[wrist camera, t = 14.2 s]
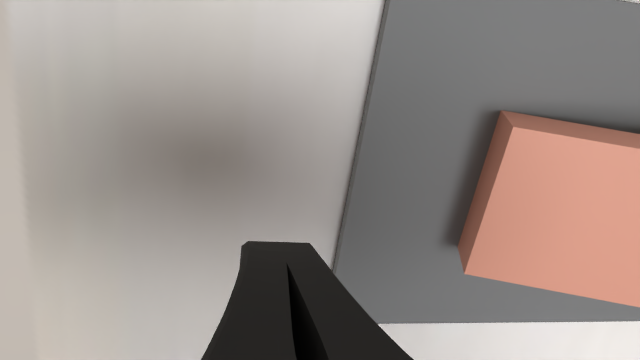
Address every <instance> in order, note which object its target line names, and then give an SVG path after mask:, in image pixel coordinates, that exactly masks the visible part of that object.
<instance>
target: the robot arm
mask: <svg viewBox="0 0 640 360" xmlns="http://www.w3.org/2000/svg"><path fill="white" fill-rule="evenodd" d="M201 360H413V359H412V358H411V357H410V356H409V355H408V354H407V353H406V352H405V351H403V350H402V349H401V348H400V347H399V346H398V345H397V344H396V343H395V342H394V341H393V340H392V339H391V338H390V337H389V336H388V335H387V334H386V333H385V332H384V331H383V330H382V329H381V328H380V327H379V325H378V324H377V323H376V322H375V321H374V320H373V319H372V318H371V317H370V316H369V315H368V313H367V312H366V311H365V310H364V309H363V308H362V307H361V305H360V304H359V303H358V302H357V301H356V300H355V299H354V297H353V296H352V295H351V294H350V293H349V292H348V290H347V289H346V288H345V287H344V286H343V284H342V283H341V282H340V281H339V279H338V278H337V277H336V276H335V274H334V273H333V272H332V271H331V269H330V268H329V267H328V266H327V264H326V263H325V262H324V260H323V259H322V258H321V257H320V255H319V254H318V253H317V252H316V250H315V249H314V248H313V247H312V245H311V244H310V243H292V242H257V241H248V242H246V243H245V244H244V245H242V248H241V259H240V269H239V273H238V276H237V280H236V283H235V286H234V289H233V291H232V294H231V297H230V299H229V302H228V305H227V307H226V310H225V312H224V314H223V317H222V319H221V321H220V323H219V325H218V327H217V329H216V331H215V333H214V335H213V338H212V340H211V342H210V344H209V346H208V348H207V350H206V352H205V353H204V355H203V357H202V359H201Z"/></svg>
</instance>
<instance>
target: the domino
mask: <svg viewBox="0 0 640 360" xmlns="http://www.w3.org/2000/svg"><path fill="white" fill-rule="evenodd" d="M458 251H459V255H460V259H461V263H462V267H463V271H464V274H467V275H472V276H478V277H483V278H488V279H493V280H499V281H504V282H509V283H514V284H520V285H525V286H530V287H535V288H541V289H546V290H551V291H556V292H562V293H567V294H572V295H577V296H583V297H588V298H593V299H598V300H604V301H609V302H614V303H619V304H625V305H630V306H635V307H640V134H636V133H630V132H624V131H618V130H613V129H607V128H601V127H595V126H590V125H584V124H578V123H572V122H566V121H561V120H555V119H549V118H543V117H538V116H532V115H526V114H520V113H514V112H509V111H503V110H501V111H500V115H499V118H498V121H497V124H496V127H495V130H494V133H493V137H492V140H491V143H490V146H489V149H488V152H487V156H486V159H485V162H484V165H483V168H482V171H481V174H480V178H479V181H478V184H477V187H476V190H475V193H474V197H473V200H472V203H471V206H470V209H469V212H468V215H467V219H466V222H465V225H464V228H463V231H462V234H461V238H460V241H459V244H458Z"/></svg>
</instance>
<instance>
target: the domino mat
mask: <svg viewBox="0 0 640 360" xmlns="http://www.w3.org/2000/svg"><path fill="white" fill-rule="evenodd" d="M501 110H503V111H509V112H514V113H520V114H526V115H532V116H538V117H543V118H549V119H555V120H561V121H566V122H572V123H578V124H584V125H590V126H595V127H601V128H607V129H613V130H618V131H624V132H630V133H636V134H640V4H638V3H632V2H626V1H619V0H386V2H385V7H384V12H383V17H382V22H381V27H380V32H379V37H378V43H377V48H376V53H375V58H374V63H373V68H372V73H371V78H370V83H369V88H368V93H367V99H366V104H365V109H364V114H363V119H362V124H361V129H360V134H359V139H358V144H357V150H356V155H355V160H354V165H353V170H352V175H351V180H350V185H349V190H348V195H347V201H346V206H345V211H344V216H343V221H342V226H341V231H340V236H339V241H338V246H337V252H336V257H335V262H334V267H333V273H334V274H335V276H336V277H337V278H338V279H339V281H340V282H341V283H342V284H343V286H344V287H345V288H346V289H347V290H348V292H349V293H350V294H351V295H352V296H353V297H354V299H355V300H356V301H357V302H358V303H359V304H360V305H361V307H362V308H363V309H364V310H365V311H366V312H367V313H368V315H369V316H370V317H371V318H372V319H373V320H374V321H375V322H376V323H377V324H389V323H496V322H604V321H640V307H635V306H630V305H625V304H619V303H614V302H609V301H604V300H598V299H593V298H588V297H583V296H577V295H572V294H567V293H562V292H556V291H551V290H546V289H541V288H535V287H530V286H525V285H520V284H514V283H509V282H504V281H499V280H493V279H488V278H483V277H478V276H472V275H467V274H464V271H463V267H462V263H461V259H460V255H459V251H458V244H459V241H460V238H461V234H462V231H463V228H464V225H465V222H466V219H467V215H468V212H469V209H470V206H471V203H472V200H473V197H474V193H475V190H476V187H477V184H478V181H479V178H480V174H481V171H482V168H483V165H484V162H485V159H486V156H487V152H488V149H489V146H490V143H491V140H492V137H493V133H494V130H495V127H496V124H497V121H498V118H499V115H500V111H501Z"/></svg>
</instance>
